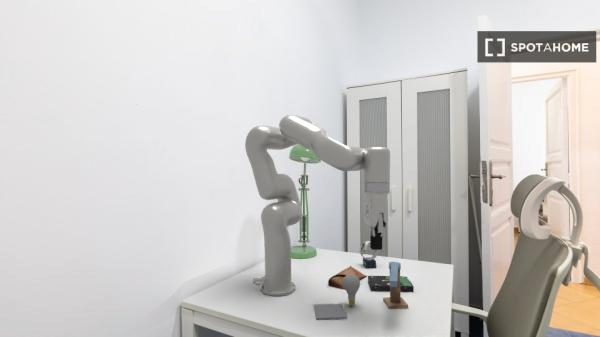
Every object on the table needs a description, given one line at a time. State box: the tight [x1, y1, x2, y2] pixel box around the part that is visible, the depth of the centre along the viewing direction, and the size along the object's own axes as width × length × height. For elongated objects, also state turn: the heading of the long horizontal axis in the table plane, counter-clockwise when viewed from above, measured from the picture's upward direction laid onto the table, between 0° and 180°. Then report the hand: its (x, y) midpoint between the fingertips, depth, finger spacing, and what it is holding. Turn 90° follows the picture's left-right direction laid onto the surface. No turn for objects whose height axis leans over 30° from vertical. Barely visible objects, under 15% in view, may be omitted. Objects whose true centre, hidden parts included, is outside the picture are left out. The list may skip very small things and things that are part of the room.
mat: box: [313, 303, 348, 321], centre depth 95 cm, size 9×9×1 cm
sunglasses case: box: [327, 265, 368, 291], centre depth 121 cm, size 18×7×7 cm
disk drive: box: [367, 275, 415, 293], centre depth 115 cm, size 10×3×15 cm
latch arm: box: [388, 261, 402, 287], centre depth 93 cm, size 18×4×2 cm, turn 162°
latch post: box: [382, 269, 409, 310], centre depth 100 cm, size 6×6×11 cm
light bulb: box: [343, 274, 361, 307], centre depth 100 cm, size 6×6×10 cm
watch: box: [359, 240, 379, 270], centre depth 138 cm, size 6×8×11 cm
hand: (376, 248), depth 94 cm, fingers closed
